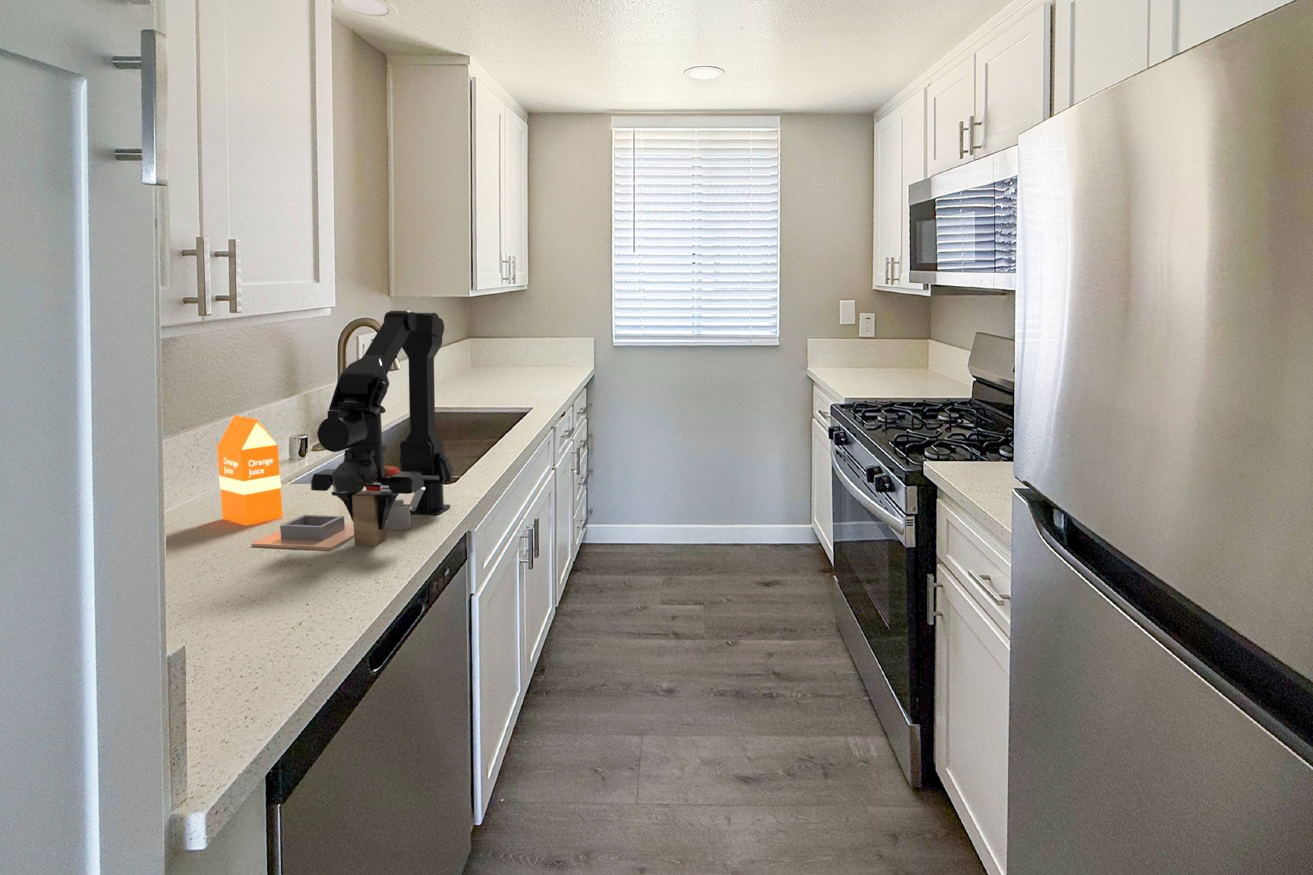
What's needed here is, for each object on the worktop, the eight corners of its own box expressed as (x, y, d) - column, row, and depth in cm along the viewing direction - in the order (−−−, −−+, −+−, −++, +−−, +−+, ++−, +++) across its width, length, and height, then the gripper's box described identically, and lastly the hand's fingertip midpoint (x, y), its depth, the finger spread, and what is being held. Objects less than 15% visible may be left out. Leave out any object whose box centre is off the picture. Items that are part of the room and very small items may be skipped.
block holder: (297, 524, 179) (296, 509, 179) (371, 527, 177) (370, 512, 176) (251, 546, 164) (250, 529, 164) (331, 550, 162) (330, 533, 162)
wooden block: (365, 539, 169) (362, 490, 167) (386, 540, 168) (383, 491, 167) (354, 545, 165) (351, 495, 164) (376, 546, 164) (373, 496, 163)
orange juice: (246, 525, 179) (238, 421, 175) (221, 518, 184) (213, 417, 181) (283, 517, 185) (276, 416, 181) (259, 511, 190) (252, 413, 187)
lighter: (387, 529, 176) (385, 487, 174) (388, 527, 177) (386, 485, 176) (426, 527, 177) (424, 486, 175) (426, 525, 178) (425, 484, 177)
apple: (362, 498, 201) (360, 462, 199) (400, 495, 204) (398, 459, 203) (368, 506, 194) (366, 469, 192) (406, 502, 197) (405, 466, 196)
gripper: (290, 448, 157) (296, 538, 160) (395, 451, 154) (400, 543, 157) (324, 437, 168) (329, 522, 171) (423, 440, 165) (426, 526, 168)
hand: (369, 528), depth 166 cm, fingers closed on wooden block, 4 cm apart
